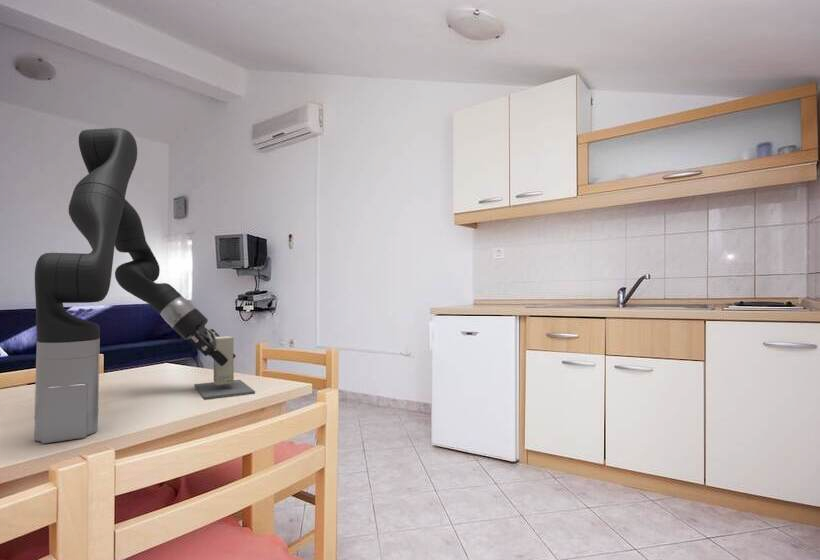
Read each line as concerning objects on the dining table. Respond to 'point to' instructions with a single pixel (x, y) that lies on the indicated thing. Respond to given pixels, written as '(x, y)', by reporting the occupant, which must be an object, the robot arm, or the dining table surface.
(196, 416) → the dining table surface
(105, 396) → the dining table surface
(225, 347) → the skincare box
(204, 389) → the mat
